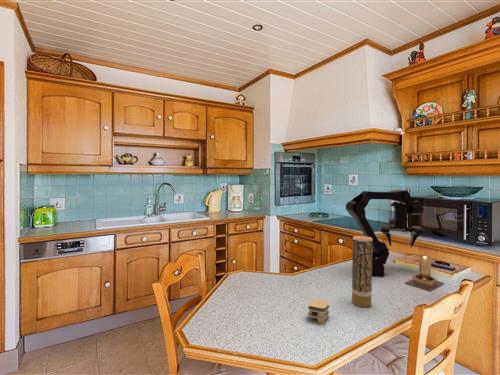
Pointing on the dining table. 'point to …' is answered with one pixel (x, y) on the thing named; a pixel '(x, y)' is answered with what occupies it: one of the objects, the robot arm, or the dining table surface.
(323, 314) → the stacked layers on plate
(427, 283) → the brown base plate
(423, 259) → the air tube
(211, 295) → the dining table surface
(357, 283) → the bark covered log
